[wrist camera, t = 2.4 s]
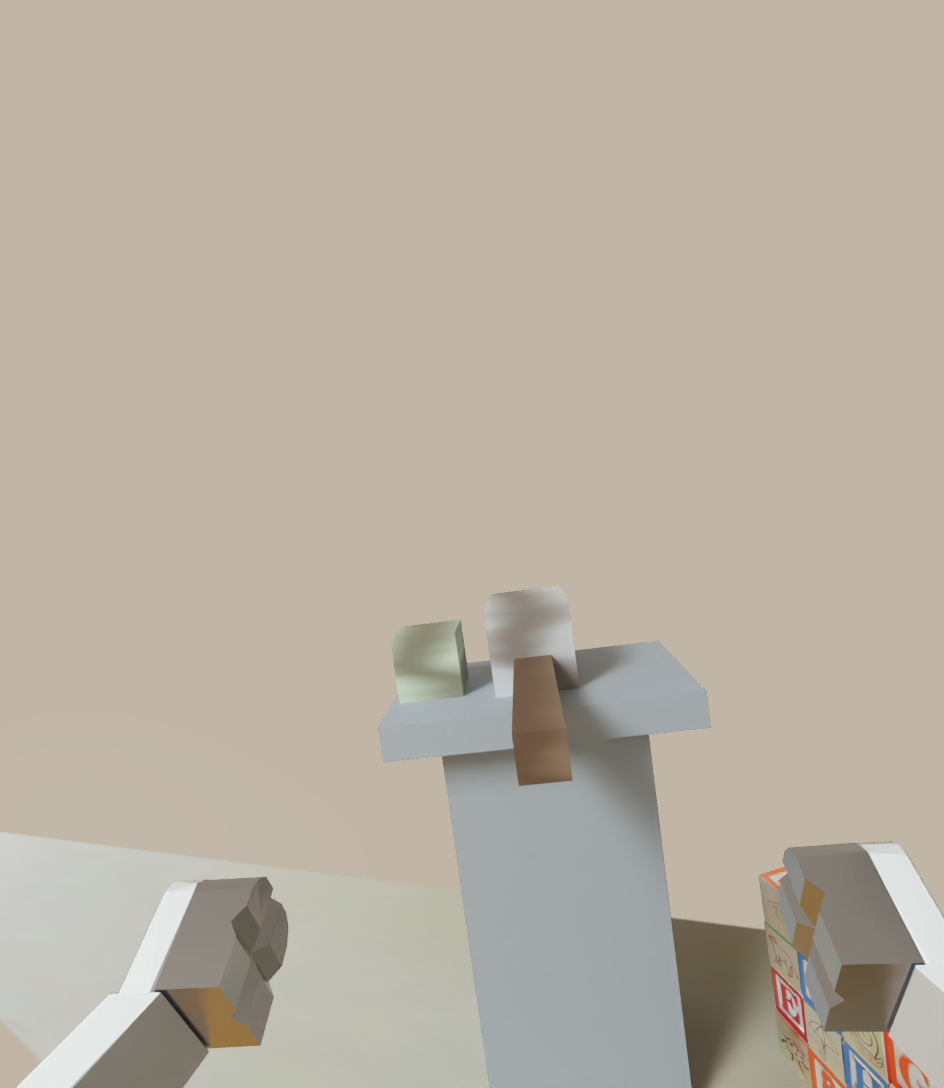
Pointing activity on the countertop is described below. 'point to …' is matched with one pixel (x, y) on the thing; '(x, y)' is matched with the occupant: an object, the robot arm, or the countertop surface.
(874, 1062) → the stack of blocks
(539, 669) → the steel-headed mallet
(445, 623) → the sage cube
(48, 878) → the countertop surface
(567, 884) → the grey pedestal
